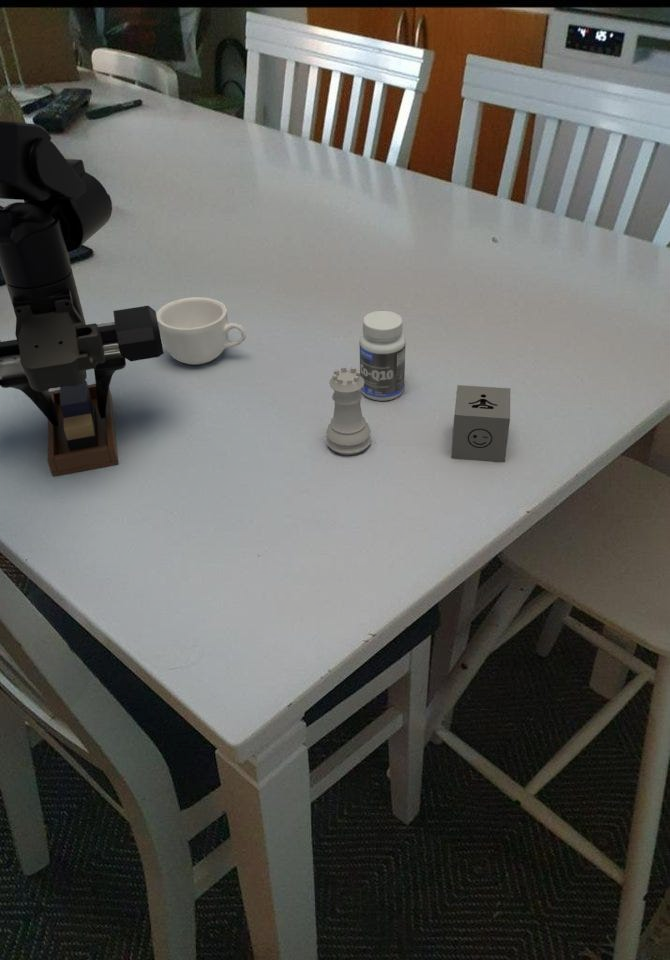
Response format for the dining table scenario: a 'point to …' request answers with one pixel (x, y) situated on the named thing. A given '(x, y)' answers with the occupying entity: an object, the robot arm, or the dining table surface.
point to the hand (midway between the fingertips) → (80, 420)
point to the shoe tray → (87, 457)
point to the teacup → (196, 329)
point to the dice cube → (481, 423)
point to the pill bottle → (382, 356)
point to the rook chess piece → (347, 414)
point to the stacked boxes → (78, 416)
